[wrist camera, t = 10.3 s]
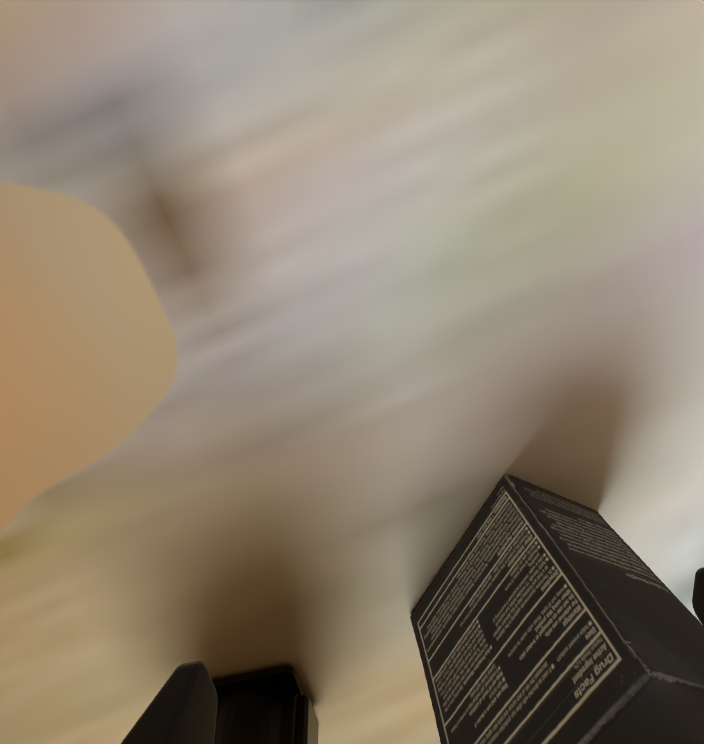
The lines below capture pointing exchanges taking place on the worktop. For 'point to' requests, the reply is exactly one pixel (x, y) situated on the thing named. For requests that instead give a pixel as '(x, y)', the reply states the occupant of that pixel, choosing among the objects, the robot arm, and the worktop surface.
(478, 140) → the worktop surface
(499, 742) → the small box
